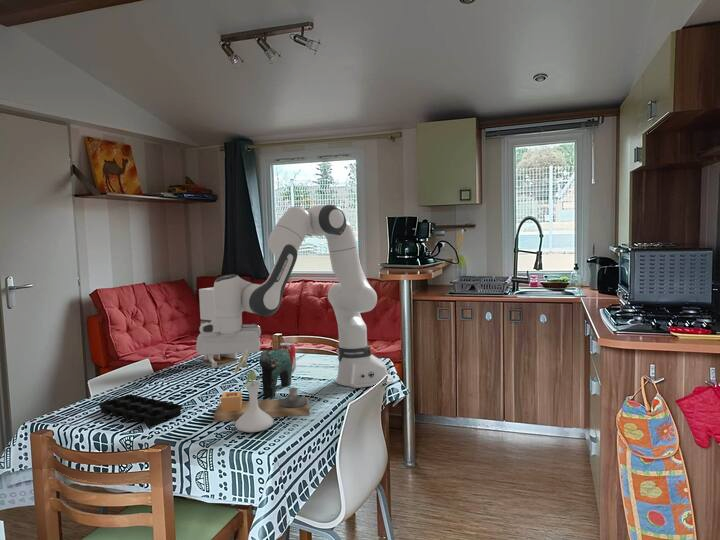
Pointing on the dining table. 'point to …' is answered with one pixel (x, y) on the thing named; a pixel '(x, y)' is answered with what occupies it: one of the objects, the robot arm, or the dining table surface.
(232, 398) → the orange slotted block
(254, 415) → the flower in vase
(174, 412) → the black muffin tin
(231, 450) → the dining table surface
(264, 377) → the green animal figurine
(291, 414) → the base board
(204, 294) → the white block sculpture
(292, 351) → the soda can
